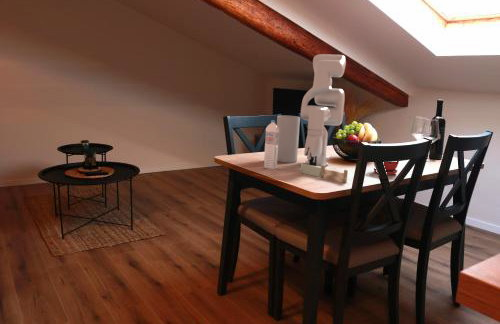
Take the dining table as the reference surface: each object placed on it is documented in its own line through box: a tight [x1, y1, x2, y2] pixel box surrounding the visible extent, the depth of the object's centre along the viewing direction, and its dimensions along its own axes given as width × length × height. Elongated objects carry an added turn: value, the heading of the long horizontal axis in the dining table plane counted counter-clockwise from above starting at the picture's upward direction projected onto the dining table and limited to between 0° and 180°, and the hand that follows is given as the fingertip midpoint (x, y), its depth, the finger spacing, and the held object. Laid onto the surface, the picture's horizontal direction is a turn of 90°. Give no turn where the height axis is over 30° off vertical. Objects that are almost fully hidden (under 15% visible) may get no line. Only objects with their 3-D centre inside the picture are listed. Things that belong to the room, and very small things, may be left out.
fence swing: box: [299, 162, 322, 178], centre depth 203 cm, size 11×2×4 cm, turn 47°
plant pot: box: [373, 160, 400, 176], centre depth 217 cm, size 13×13×12 cm
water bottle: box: [263, 119, 279, 170], centre depth 213 cm, size 7×7×25 cm
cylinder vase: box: [276, 115, 301, 164], centre depth 235 cm, size 12×12×25 cm
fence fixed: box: [320, 165, 349, 184], centre depth 194 cm, size 14×2×6 cm, turn 47°
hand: (312, 169), depth 207 cm, fingers closed
